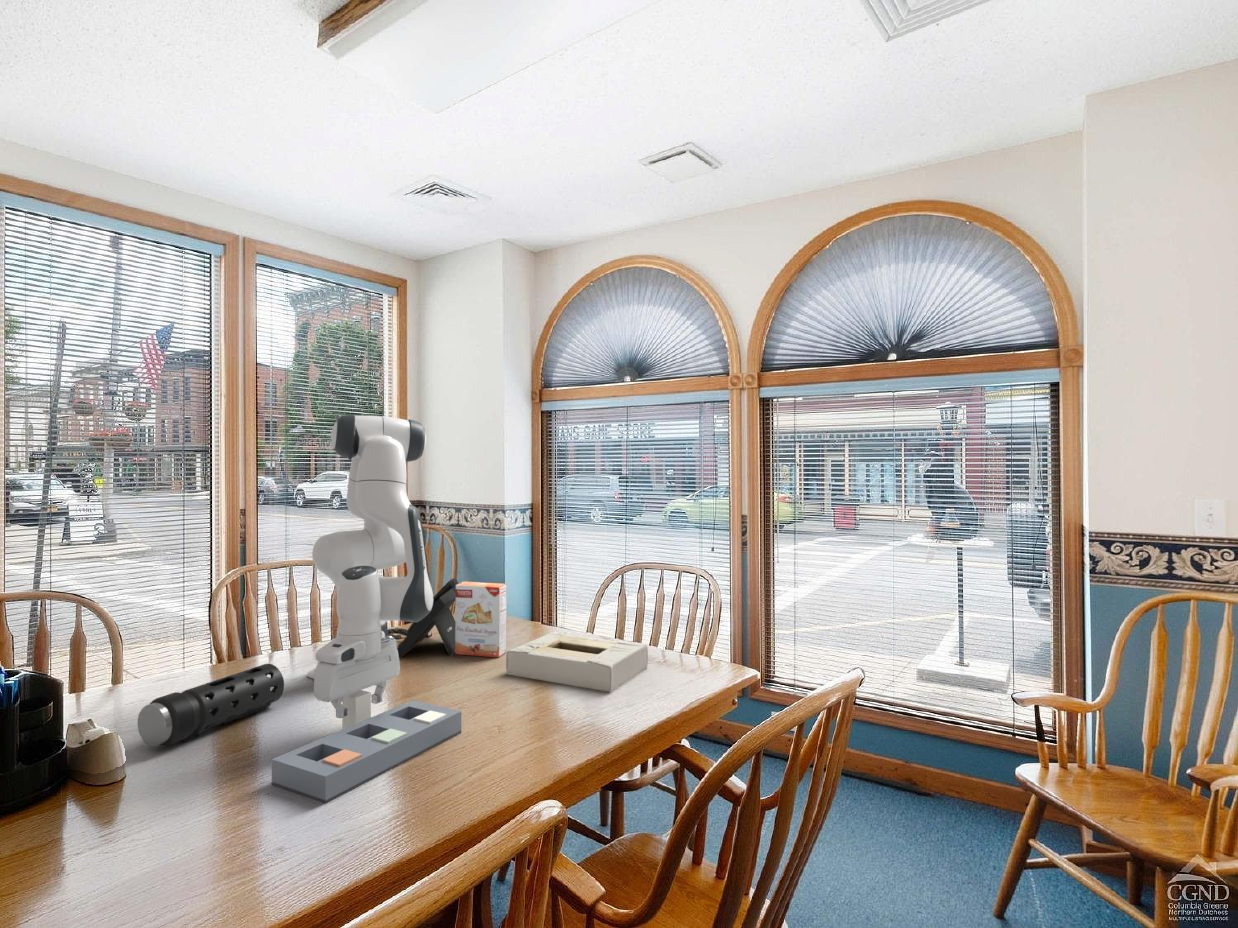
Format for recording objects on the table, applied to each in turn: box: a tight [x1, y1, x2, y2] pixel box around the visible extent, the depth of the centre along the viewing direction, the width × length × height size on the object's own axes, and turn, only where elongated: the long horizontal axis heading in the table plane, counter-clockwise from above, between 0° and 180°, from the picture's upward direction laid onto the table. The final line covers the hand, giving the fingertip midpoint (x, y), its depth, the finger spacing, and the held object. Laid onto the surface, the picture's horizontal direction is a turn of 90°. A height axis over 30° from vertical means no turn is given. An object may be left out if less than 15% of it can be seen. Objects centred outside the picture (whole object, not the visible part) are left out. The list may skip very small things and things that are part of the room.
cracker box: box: [454, 581, 507, 658], centre depth 204 cm, size 14×6×21 cm, turn 77°
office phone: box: [387, 578, 460, 659], centre depth 215 cm, size 29×28×20 cm
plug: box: [341, 689, 372, 730], centre depth 146 cm, size 4×4×8 cm
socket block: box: [271, 699, 462, 804], centre depth 134 cm, size 14×34×5 cm, turn 152°
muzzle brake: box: [137, 663, 285, 748], centre depth 148 cm, size 10×28×10 cm, turn 159°
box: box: [505, 631, 649, 693], centre depth 188 cm, size 23×8×32 cm
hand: (359, 709), depth 146 cm, fingers open, 8 cm apart
